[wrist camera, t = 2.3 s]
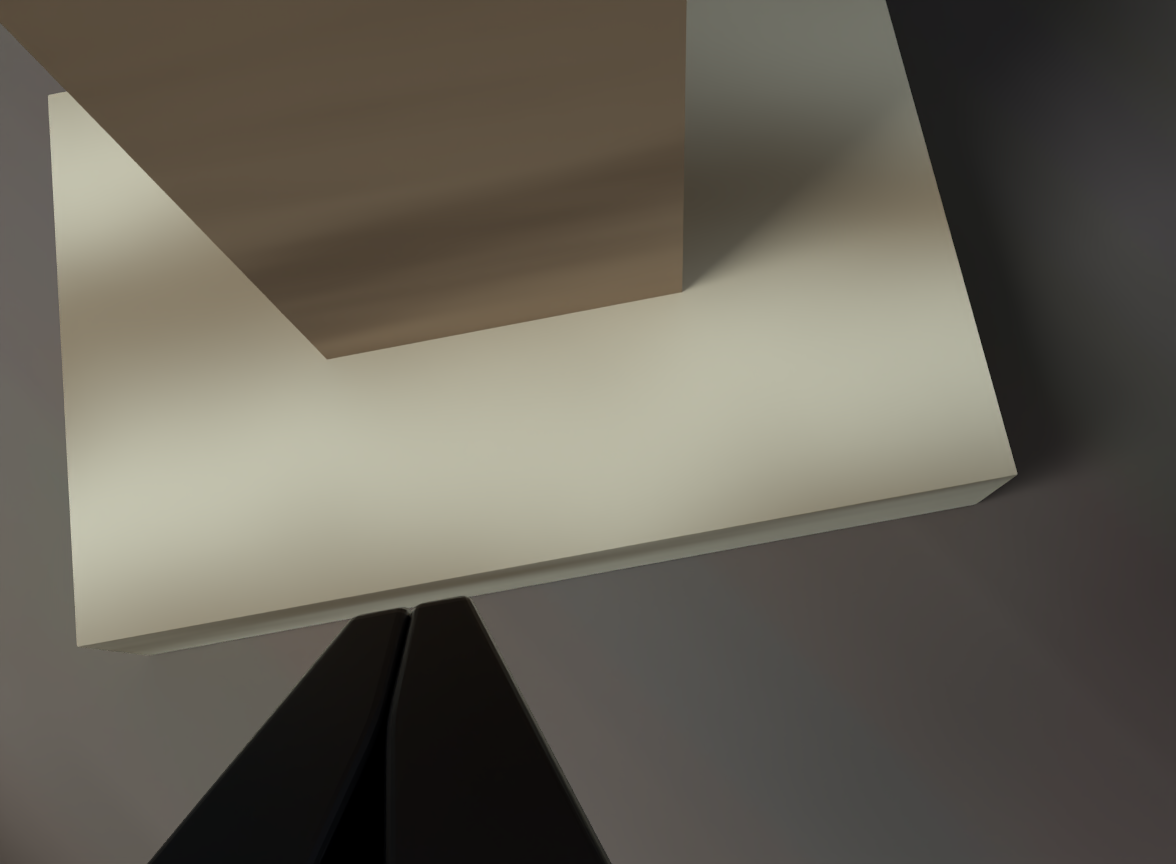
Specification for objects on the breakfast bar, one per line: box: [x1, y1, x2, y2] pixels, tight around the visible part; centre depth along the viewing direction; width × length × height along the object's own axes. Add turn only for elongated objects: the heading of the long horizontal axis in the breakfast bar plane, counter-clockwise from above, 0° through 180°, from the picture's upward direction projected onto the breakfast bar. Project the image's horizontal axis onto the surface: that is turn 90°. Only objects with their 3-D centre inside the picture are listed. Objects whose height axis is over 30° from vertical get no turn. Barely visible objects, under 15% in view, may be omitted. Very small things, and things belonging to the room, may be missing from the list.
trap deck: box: [48, 0, 1018, 655], centre depth 22 cm, size 22×15×2 cm
